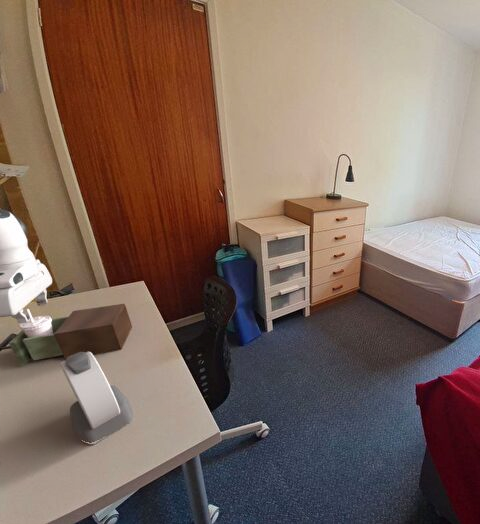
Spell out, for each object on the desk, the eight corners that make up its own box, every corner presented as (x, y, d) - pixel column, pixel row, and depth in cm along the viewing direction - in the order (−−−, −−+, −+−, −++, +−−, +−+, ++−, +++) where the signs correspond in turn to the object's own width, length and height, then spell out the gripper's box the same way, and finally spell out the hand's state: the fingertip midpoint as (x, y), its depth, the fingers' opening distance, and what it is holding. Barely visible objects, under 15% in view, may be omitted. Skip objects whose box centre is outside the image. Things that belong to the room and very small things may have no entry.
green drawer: (-4, 369, 78) (-17, 347, 75) (21, 344, 87) (10, 323, 84) (76, 354, 84) (67, 333, 81) (91, 332, 94) (83, 312, 91)
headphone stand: (141, 421, 66) (119, 362, 59) (85, 457, 59) (51, 393, 51) (118, 387, 75) (95, 331, 68) (66, 414, 67) (35, 354, 60)
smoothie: (25, 353, 82) (6, 312, 77) (52, 340, 88) (35, 301, 83) (41, 357, 81) (22, 315, 76) (67, 344, 86) (51, 304, 81)
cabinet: (65, 360, 83) (53, 334, 79) (83, 335, 94) (73, 310, 90) (121, 349, 88) (112, 324, 84) (132, 326, 99) (124, 303, 95)
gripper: (21, 256, 83) (39, 296, 88) (-31, 287, 66) (-5, 335, 71) (49, 254, 85) (65, 293, 91) (6, 284, 68) (28, 330, 73)
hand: (34, 312), depth 81 cm, fingers open, 8 cm apart
